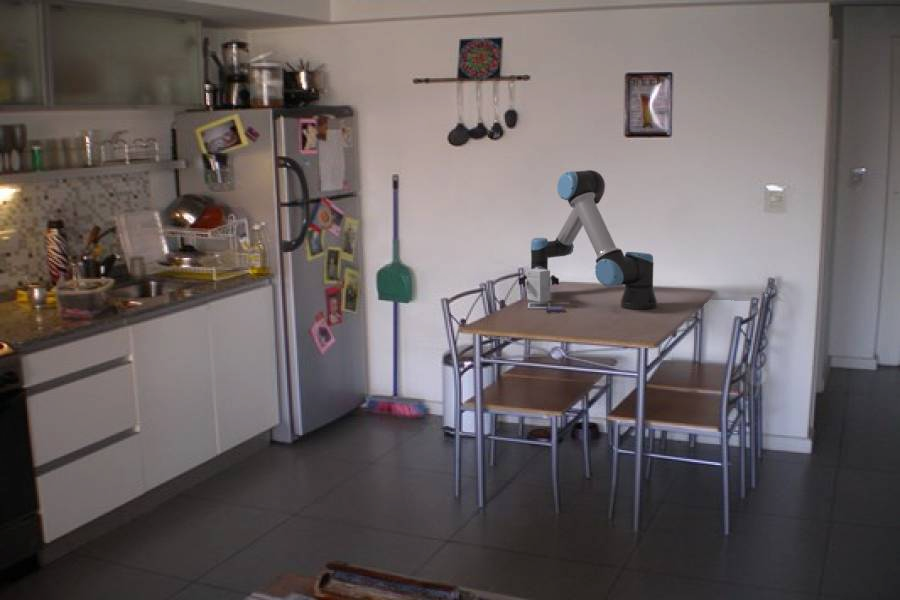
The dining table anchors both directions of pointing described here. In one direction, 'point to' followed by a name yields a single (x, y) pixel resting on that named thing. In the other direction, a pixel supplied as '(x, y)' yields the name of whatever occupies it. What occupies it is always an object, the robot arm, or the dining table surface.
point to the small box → (538, 285)
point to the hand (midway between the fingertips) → (538, 284)
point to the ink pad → (555, 309)
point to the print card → (538, 305)
